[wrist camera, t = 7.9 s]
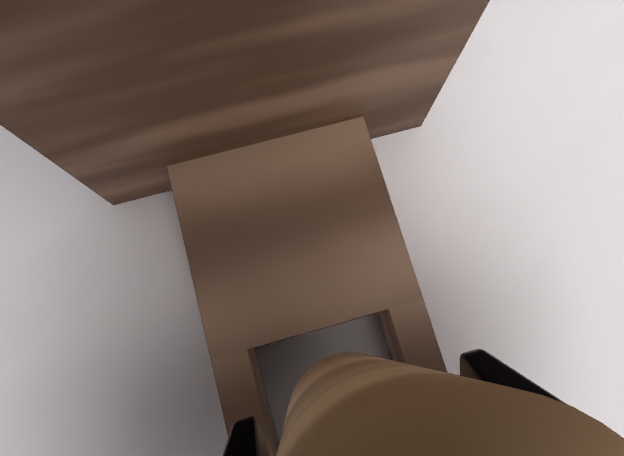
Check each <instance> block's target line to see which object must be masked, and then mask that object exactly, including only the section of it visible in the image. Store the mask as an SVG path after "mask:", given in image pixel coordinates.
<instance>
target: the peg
mask: <svg viewBox="0 0 624 456" xmlns="http://www.w3.org/2000/svg"><path fill="white" fill-rule="evenodd" d="M276 456H624V438H622V437H621V436H619V435H618V434H617V433H615V432H614V431H612V430H611V429H610V428H608V427H607V426H605V425H604V424H603V423H601V422H599V421H598V420H596V419H594V418H592V417H590V416H588V415H587V414H585V413H583V412H581V411H579V410H577V409H576V408H574V407H572V406H569V405H567V404H564V403H562V402H559V401H556V400H554V399H551V398H549V397H546V396H544V395H540V394H536V393H532V392H528V391H524V390H520V389H516V388H512V387H508V386H503V385H499V384H494V383H490V382H485V381H481V380H477V379H472V378H468V377H463V376H459V375H454V374H450V373H446V372H441V371H437V370H432V369H428V368H423V367H419V366H415V365H410V364H406V363H401V362H397V361H392V360H388V359H384V358H379V357H375V356H370V355H366V354H361V353H354V352H344V353H338V354H334V355H330V356H328V357H325V358H323V359H321V360H320V361H318V362H316V363H315V364H313V365H312V366H311V367H310V368H309V369H308V370H307V371H306V372H305V373H304V374H303V375H302V376H301V378H300V379H299V381H298V382H297V384H296V386H295V388H294V390H293V392H292V395H291V398H290V402H289V406H288V410H287V414H286V418H285V422H284V426H283V430H282V434H281V438H280V442H279V446H278V450H277V454H276Z"/></svg>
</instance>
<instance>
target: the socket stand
mask: <svg viewBox="0 0 624 456" xmlns="http://www.w3.org/2000/svg"><path fill="white" fill-rule="evenodd" d="M489 1H490V0H0V125H1V126H3V127H4V128H6V129H7V130H9V131H10V132H11V133H13V134H14V135H16V136H17V137H18V138H20V139H21V140H23V141H24V142H25V143H27V144H28V145H30V146H31V147H32V148H34V149H35V150H37V151H38V152H39V153H41V154H42V155H44V156H45V157H46V158H48V159H49V160H51V161H52V162H53V163H55V164H56V165H58V166H59V167H61V168H62V169H63V170H65V171H66V172H68V173H69V174H70V175H72V176H73V177H75V178H76V179H77V180H79V181H80V182H82V183H83V184H84V185H86V186H87V187H89V188H90V189H91V190H93V191H94V192H96V193H97V194H98V195H100V196H101V197H103V198H104V199H106V200H107V201H108V202H110V203H111V204H113V205H116V204H120V203H123V202H127V201H131V200H135V199H139V198H143V197H147V196H151V195H154V194H158V193H162V192H166V191H170V190H172V191H173V195H174V200H175V204H176V209H177V213H178V217H179V222H180V226H181V231H182V235H183V239H184V244H185V248H186V253H187V257H188V261H189V266H190V270H191V275H192V279H193V283H194V288H195V292H196V297H197V301H198V305H199V310H200V314H201V319H202V323H203V328H204V332H205V336H206V341H207V345H208V350H209V354H210V358H211V363H212V367H213V372H214V376H215V380H216V385H217V389H218V394H219V398H220V402H221V407H222V411H223V416H224V420H225V424H226V429H227V433H228V438H229V435H230V432H231V429H232V426H233V424H234V422H235V421H237V420H239V419H243V418H246V417H249V416H256V417H257V419H258V421H259V424H260V427H261V429H262V432H263V434H264V437H265V439H266V442H267V446H268V450H269V455H270V456H276V454H277V450H278V446H279V445H278V441H277V437H276V433H275V429H274V425H273V421H272V417H271V413H270V409H269V405H268V401H267V397H266V393H265V389H264V385H263V380H262V376H261V372H260V368H259V364H258V360H257V356H256V352H255V348H256V347H260V346H263V345H267V344H270V343H274V342H277V341H281V340H284V339H288V338H291V337H295V336H298V335H302V334H305V333H309V332H312V331H316V330H319V329H323V328H326V327H330V326H333V325H337V324H340V323H344V322H347V321H351V320H354V319H358V318H361V317H365V316H368V315H372V314H375V313H378V315H379V318H380V321H381V325H382V328H383V331H384V334H385V338H386V341H387V344H388V347H389V351H390V354H391V357H392V360H393V361H397V362H401V363H406V364H410V365H415V366H419V367H423V368H428V369H432V370H437V371H441V372H446V373H447V370H446V367H445V364H444V361H443V358H442V355H441V352H440V349H439V346H438V343H437V340H436V337H435V334H434V331H433V328H432V325H431V322H430V319H429V315H428V312H427V309H426V306H425V303H424V300H423V297H422V294H421V291H420V288H419V285H418V282H417V279H416V276H415V273H414V270H413V267H412V264H411V261H410V258H409V254H408V251H407V248H406V245H405V242H404V239H403V236H402V233H401V230H400V227H399V224H398V221H397V218H396V215H395V212H394V209H393V206H392V203H391V200H390V197H389V193H388V190H387V187H386V184H385V181H384V178H383V175H382V172H381V169H380V166H379V163H378V160H377V157H376V154H375V151H374V148H373V145H372V142H371V139H372V138H376V137H380V136H384V135H387V134H391V133H395V132H399V131H403V130H407V129H411V128H415V127H419V126H421V125H422V123H423V121H424V119H425V118H426V116H427V114H428V112H429V110H430V108H431V107H432V105H433V103H434V101H435V99H436V97H437V96H438V94H439V92H440V90H441V88H442V86H443V85H444V83H445V81H446V79H447V77H448V76H449V74H450V72H451V70H452V68H453V66H454V65H455V63H456V61H457V59H458V57H459V55H460V54H461V52H462V50H463V48H464V46H465V44H466V43H467V41H468V39H469V37H470V35H471V34H472V32H473V30H474V28H475V26H476V24H477V23H478V21H479V19H480V17H481V15H482V13H483V12H484V10H485V8H486V6H487V4H488V2H489Z"/></svg>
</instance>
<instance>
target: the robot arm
mask: <svg viewBox="0 0 624 456" xmlns="http://www.w3.org/2000/svg"><path fill="white" fill-rule="evenodd" d="M460 376H463V377H468V378H472V379H477V380H481V381H485V382H490V383H494V384H499V385H503V386H508V387H512V388H516V389H520V390H524V391H528V392H532V393H536V394H540V395H544V396H546V397H549V398H551V399H554V400H556V401H559V402H562V403H564V402H563V401H561V400H560V399H558V398H557V397H555V396H554V395H552V394H550V393H549V392H547V391H546V390H544V389H543V388H541V387H540V386H538V385H537V384H535V383H534V382H532V381H530V380H529V379H527V378H526V377H524V376H523V375H521V374H520V373H518V372H517V371H515V370H514V369H512V368H510V367H509V366H507V365H506V364H504V363H503V362H501V361H500V360H498V359H497V358H495V357H493V356H492V355H490V354H489V353H487V352H486V351H484V350H482V349H475V350H472V351H469V352H465V353H463V354H461V356H460ZM564 404H566V403H564ZM223 456H270V455H269V450H268V446H267V442H266V439H265V437H264V434H263V432H262V429H261V427H260V424H259V421H258V419H257V417H256V416H249V417H246V418H243V419H239V420H237V421H235V422H234V424H233V426H232V429H231V432H230V435H229V438H228V441H227V444H226V447H225V450H224V453H223Z"/></svg>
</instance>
